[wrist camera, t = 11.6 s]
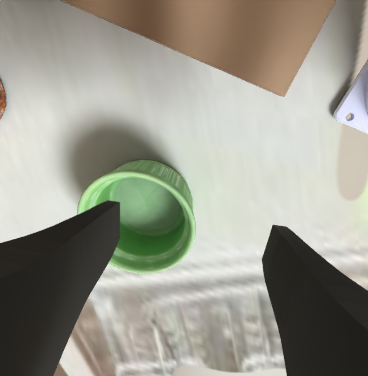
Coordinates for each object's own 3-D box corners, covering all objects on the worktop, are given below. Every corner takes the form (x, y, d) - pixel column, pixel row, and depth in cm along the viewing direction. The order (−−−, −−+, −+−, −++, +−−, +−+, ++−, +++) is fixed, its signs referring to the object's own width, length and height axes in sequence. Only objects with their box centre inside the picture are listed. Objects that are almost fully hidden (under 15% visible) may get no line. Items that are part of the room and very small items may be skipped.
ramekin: (84, 167, 21) (54, 187, 17) (181, 140, 19) (174, 156, 16) (122, 248, 25) (105, 281, 21) (209, 232, 23) (209, 265, 19)
